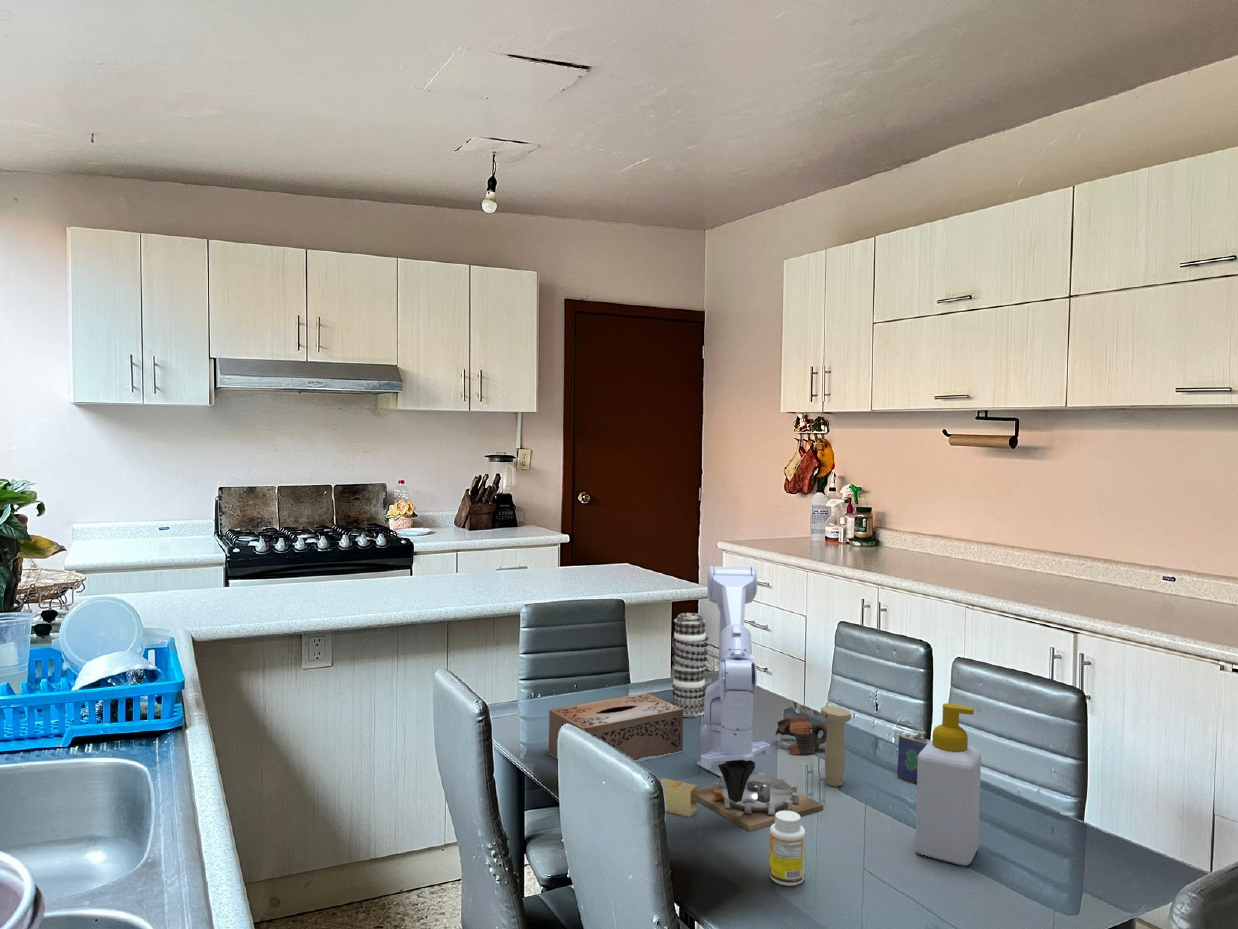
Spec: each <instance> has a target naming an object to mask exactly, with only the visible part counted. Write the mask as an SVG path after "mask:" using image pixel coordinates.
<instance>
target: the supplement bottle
mask: <svg viewBox="0 0 1238 929" xmlns="http://www.w3.org/2000/svg"><path fill="white" fill-rule="evenodd" d="M801 817H802V816H801ZM801 817H800V815H799V814H798V813H796V812H793V811H779V812H777V813H776V815H775V823H774V824H773V825H770V828H769V877H770V878H771V880H772V881H774V883H776V884H779V885H782V886H787V887H790V886H791V887H792V886H798V885H800V884H801V883H803V882H804V881H805V877H806V876H805V875H806V868H805V867H806V829H805V828H804V827H803V826H802V822H801V820H802V819H801Z"/></svg>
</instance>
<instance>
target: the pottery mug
mask: <svg viewBox="0 0 1238 929" xmlns="http://www.w3.org/2000/svg"><path fill="white" fill-rule="evenodd" d="M776 723H777V728H776V731H775V736H777V735H781V736H785V735H787V736H791V737H795V740H796V742H795V743H792V744H789V745H788V748H789V749H788V750H789V753H790V755H791V756H792V755H794V756H795V755H802V754H804V755H809V754H811V755H815V750H816V749H817V750H818V749H819V747H820V746H821V745H823V744H826V736H827V724H826V725H825V724H824V723H816V724H812V722H811V721H810V718H809V717H806V716H795V717H789V718H784V719H781V720H779V721H777V722H776ZM820 731H822V732H823V733H822V735H821V737H820V738H819V733H820Z"/></svg>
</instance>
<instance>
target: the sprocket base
mask: <svg viewBox="0 0 1238 929" xmlns="http://www.w3.org/2000/svg"><path fill="white" fill-rule="evenodd" d="M758 774H759V773H757V774H754V775H758ZM797 793H800V796H799V803H792V810H789V811H793V812H796V813H798V814H799V815H800V817H805V816H808V815H811V814H815V813H818V812H822V811H824V804H822V802H821V803H820V802H818V801H816V799H812V798H811V797H809V796H807V795H804V794H803V793H801V792H799V791H797ZM697 802H699V803H701V804H702V805H704V806H705V807H707V808H708V809H710V810H713V811H714V812H716V813H718V814H719V815H721V816H722V817H724V818H726V819H727V820H729V821H731V822H733V823H734V824H736V825H738V826H740V827H741V828H743V829H744V830H747V831H748V832H753V831H757V830H760V829H763V828H766V827H771V826H772V825H773V824H774V823H775V815H776V813H777V812H779V811H787V810H785V809H780V810H776V811H775V814H769V815H768V813H767V812H757V811H752V813H751V814H749V813H745V810H743V809H739V808H735V807H733V808H730V809H728V808H726V807H724V803H725V802H723V801H722V800H716V801H715V800H714V798H713V792H712V784H711V785H707V786H705V787H704V786H703V787H700V788H697Z"/></svg>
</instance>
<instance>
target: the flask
mask: <svg viewBox="0 0 1238 929" xmlns="http://www.w3.org/2000/svg"><path fill="white" fill-rule="evenodd" d="M925 734H926V731H924V730H916V734H912V733H910V732H907V733H900V734H899V737H898V752H897V753H898V754H897V779H899V780H902V781H904V782H907V783H911V784H915V785H917V771H918V755H919V753H920V752H921V751H922V750H923V749H924V747H925V746H926V745H927V744H928V743H929V742H930V741H932V740H931V739H927V738H926V739H925Z"/></svg>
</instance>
